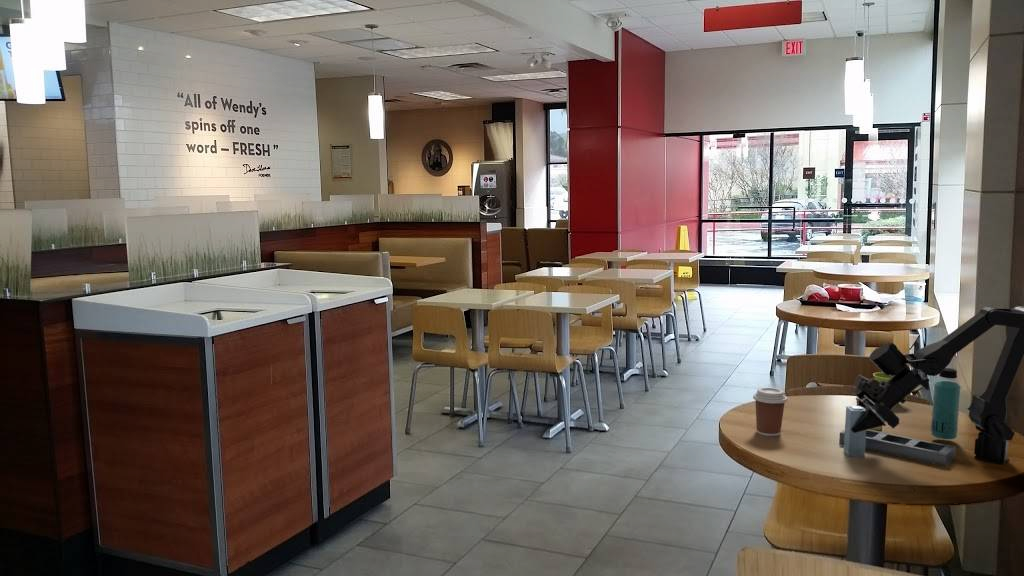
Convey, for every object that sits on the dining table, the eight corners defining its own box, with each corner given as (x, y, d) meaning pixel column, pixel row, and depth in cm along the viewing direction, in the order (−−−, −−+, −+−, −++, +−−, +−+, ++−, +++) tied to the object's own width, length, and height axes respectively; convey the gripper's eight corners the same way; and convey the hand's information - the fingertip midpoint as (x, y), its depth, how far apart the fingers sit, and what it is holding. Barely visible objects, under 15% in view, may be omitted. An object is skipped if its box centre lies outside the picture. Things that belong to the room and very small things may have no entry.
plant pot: (865, 398, 263) (866, 372, 262) (891, 397, 265) (893, 371, 263) (883, 406, 254) (885, 379, 253) (910, 405, 256) (912, 378, 254)
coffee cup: (765, 425, 234) (767, 384, 232) (792, 433, 226) (794, 391, 225) (744, 431, 228) (746, 389, 227) (771, 439, 221) (773, 396, 219)
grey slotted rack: (954, 458, 207) (955, 446, 207) (945, 466, 201) (946, 454, 201) (850, 436, 224) (850, 425, 224) (839, 443, 218) (839, 432, 218)
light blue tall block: (859, 451, 212) (862, 405, 210) (864, 456, 208) (867, 409, 206) (843, 451, 212) (846, 404, 210) (848, 456, 208) (851, 409, 206)
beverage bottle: (957, 439, 222) (963, 367, 219) (956, 446, 216) (962, 372, 213) (930, 436, 225) (935, 364, 222) (928, 442, 219) (934, 369, 217)
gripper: (863, 357, 216) (818, 396, 218) (888, 374, 197) (839, 417, 200) (892, 387, 216) (846, 426, 218) (920, 406, 198) (870, 449, 200)
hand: (849, 428), depth 209 cm, fingers closed on light blue tall block, 4 cm apart
